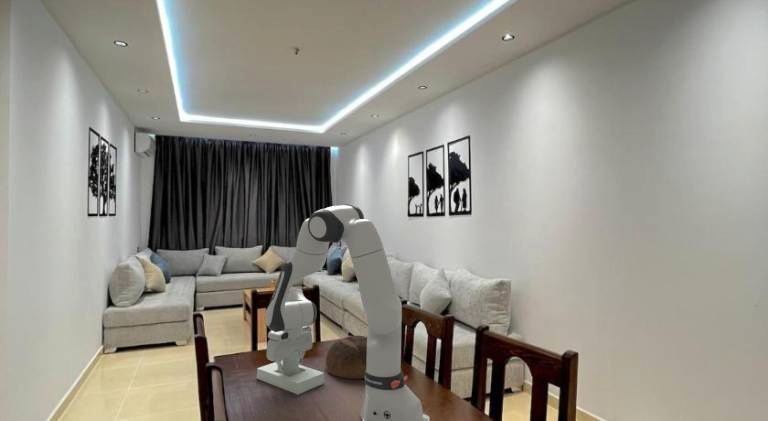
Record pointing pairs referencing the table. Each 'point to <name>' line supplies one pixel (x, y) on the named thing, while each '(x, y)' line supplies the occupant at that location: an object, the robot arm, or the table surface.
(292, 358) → the skincare box
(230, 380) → the table surface
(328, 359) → the bread
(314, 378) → the white rectangular holder
